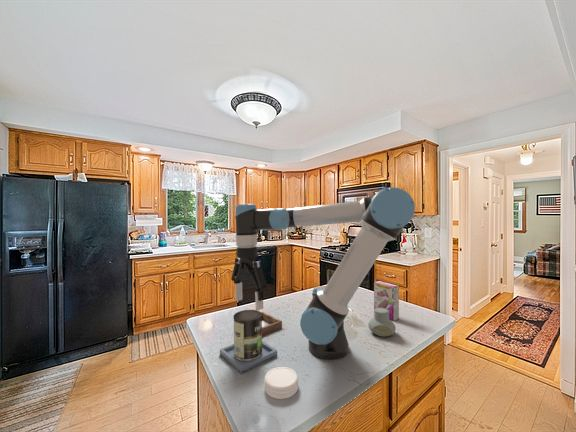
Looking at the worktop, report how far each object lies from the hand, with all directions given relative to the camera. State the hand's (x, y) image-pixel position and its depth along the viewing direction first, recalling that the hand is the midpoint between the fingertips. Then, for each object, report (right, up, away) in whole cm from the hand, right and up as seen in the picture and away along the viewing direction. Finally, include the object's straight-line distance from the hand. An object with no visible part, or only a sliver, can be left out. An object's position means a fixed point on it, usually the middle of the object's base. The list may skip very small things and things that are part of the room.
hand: (248, 304), depth 90 cm
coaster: (+12, -19, -17) cm, 28 cm away
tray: (0, -19, 0) cm, 19 cm away
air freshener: (+54, -18, +16) cm, 59 cm away
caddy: (+1, -19, +23) cm, 29 cm away
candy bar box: (+63, -18, +33) cm, 73 cm away
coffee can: (0, -18, 0) cm, 18 cm away
